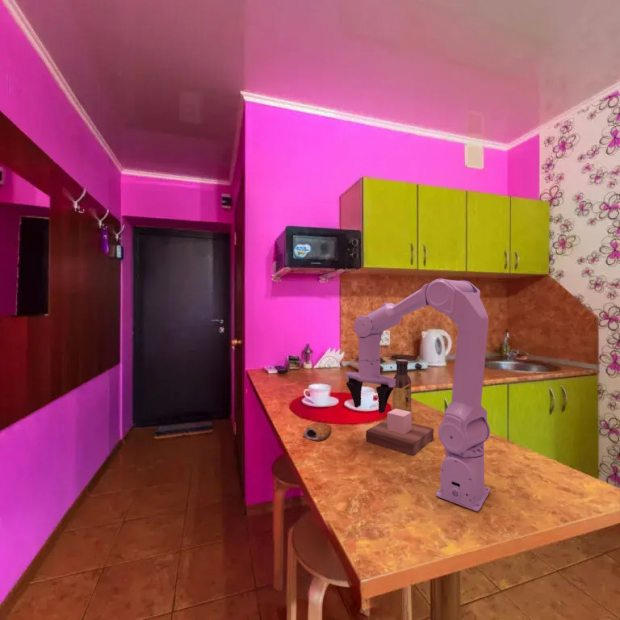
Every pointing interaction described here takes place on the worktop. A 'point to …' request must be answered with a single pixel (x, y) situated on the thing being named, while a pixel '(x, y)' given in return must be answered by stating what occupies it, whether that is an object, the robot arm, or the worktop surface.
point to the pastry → (317, 431)
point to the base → (400, 438)
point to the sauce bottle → (402, 387)
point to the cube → (399, 421)
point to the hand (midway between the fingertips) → (369, 409)
